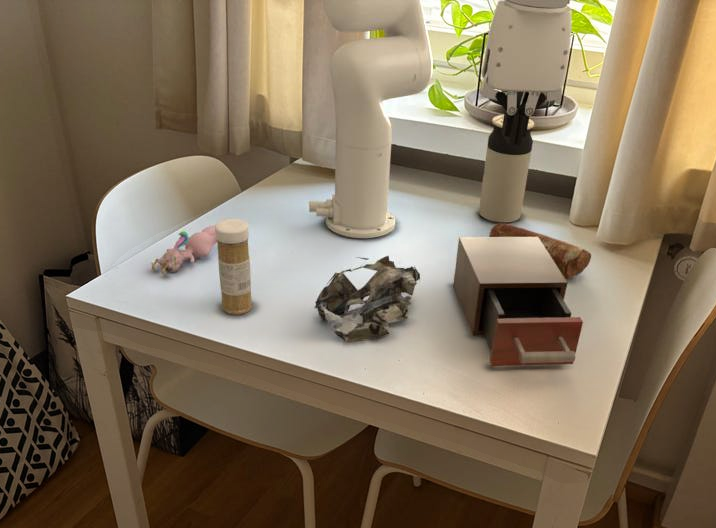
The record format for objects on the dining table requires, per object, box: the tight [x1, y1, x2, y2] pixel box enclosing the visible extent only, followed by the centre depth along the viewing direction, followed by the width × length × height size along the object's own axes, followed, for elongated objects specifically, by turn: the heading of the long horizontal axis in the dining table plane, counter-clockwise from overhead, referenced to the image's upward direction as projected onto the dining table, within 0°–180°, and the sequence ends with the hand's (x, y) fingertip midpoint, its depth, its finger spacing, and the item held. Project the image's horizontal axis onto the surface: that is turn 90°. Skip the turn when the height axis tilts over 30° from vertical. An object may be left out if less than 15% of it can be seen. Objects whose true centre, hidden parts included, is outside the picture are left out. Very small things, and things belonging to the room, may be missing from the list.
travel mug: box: [478, 114, 535, 224], centre depth 141 cm, size 8×8×18 cm
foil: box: [314, 255, 421, 343], centre depth 110 cm, size 12×11×15 cm
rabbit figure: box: [150, 225, 217, 276], centre depth 123 cm, size 6×6×15 cm
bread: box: [488, 222, 592, 280], centre depth 129 cm, size 6×19×6 cm, turn 41°
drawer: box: [480, 288, 584, 367], centre depth 105 cm, size 18×11×7 cm, turn 7°
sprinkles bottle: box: [214, 218, 253, 316], centre depth 109 cm, size 5×5×14 cm
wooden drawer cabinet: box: [452, 236, 568, 337], centre depth 114 cm, size 15×13×9 cm
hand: (512, 141), depth 103 cm, fingers closed
